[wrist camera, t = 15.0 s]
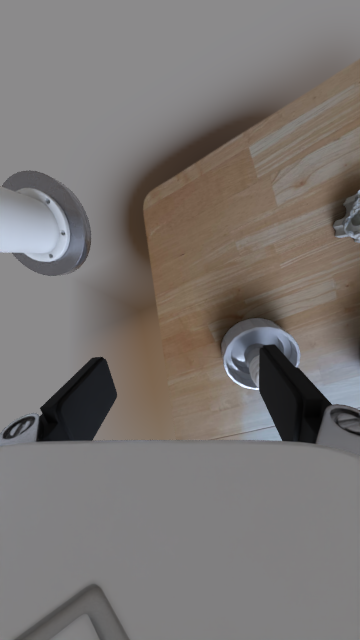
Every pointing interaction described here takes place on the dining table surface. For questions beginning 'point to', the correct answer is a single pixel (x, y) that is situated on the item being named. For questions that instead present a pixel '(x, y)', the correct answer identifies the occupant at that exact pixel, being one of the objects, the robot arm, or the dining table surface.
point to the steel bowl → (251, 334)
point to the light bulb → (253, 361)
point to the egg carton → (350, 219)
